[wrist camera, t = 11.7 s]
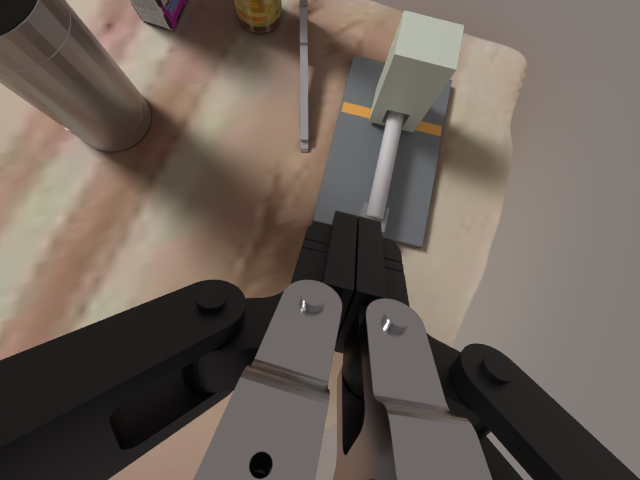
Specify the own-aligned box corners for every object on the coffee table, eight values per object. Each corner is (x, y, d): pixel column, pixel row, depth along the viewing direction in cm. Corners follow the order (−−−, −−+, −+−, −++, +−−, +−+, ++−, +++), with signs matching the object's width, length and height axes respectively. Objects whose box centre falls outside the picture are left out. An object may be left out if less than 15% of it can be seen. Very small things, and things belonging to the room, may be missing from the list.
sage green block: (368, 121, 40) (394, 54, 29) (376, 88, 41) (404, 10, 30) (413, 132, 40) (456, 69, 29) (419, 99, 41) (464, 25, 30)
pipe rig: (312, 221, 39) (313, 212, 35) (352, 60, 43) (358, 34, 39) (419, 247, 39) (433, 242, 35) (448, 84, 44) (464, 61, 39)
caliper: (299, 20, 44) (298, -24, 38) (306, 20, 44) (307, -24, 38) (300, 153, 41) (300, 128, 35) (308, 153, 41) (309, 128, 35)
